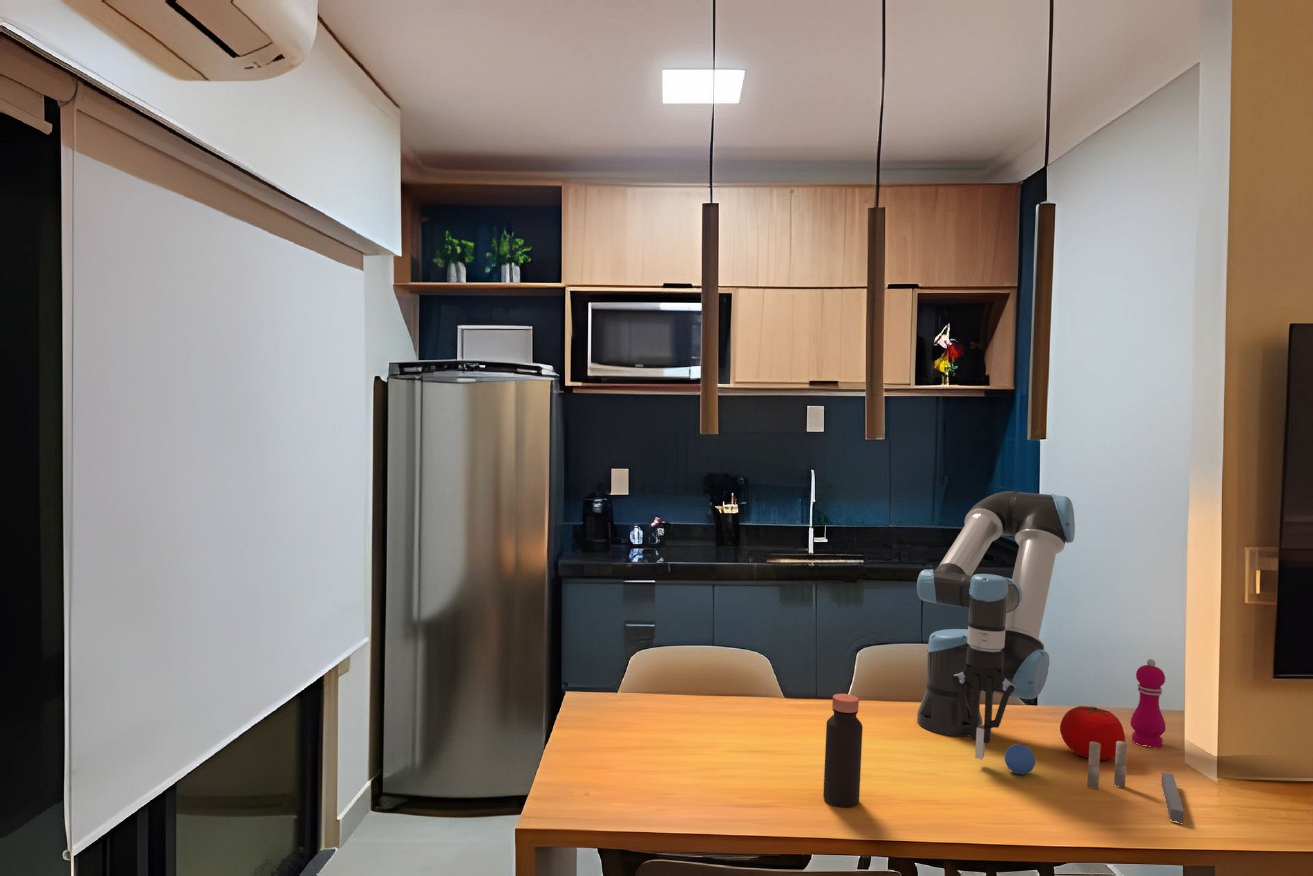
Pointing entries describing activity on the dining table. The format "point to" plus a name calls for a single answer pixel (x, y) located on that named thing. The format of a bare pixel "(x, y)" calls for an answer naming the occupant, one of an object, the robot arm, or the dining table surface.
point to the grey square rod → (1172, 797)
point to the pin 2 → (1120, 764)
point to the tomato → (1091, 731)
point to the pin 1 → (1093, 764)
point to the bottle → (843, 753)
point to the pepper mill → (1148, 706)
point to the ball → (1019, 759)
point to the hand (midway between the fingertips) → (979, 756)
